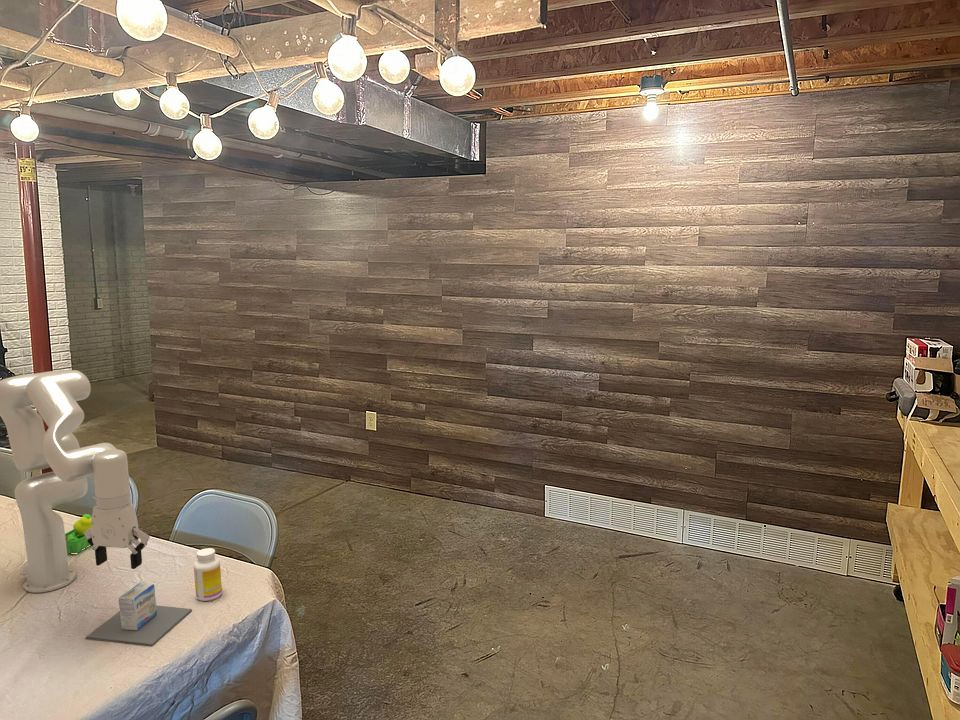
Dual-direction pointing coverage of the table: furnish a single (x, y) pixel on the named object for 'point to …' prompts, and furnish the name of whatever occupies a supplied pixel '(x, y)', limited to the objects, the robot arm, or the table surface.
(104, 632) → the mat
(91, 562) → the table surface
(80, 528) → the fruit basket
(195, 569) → the supplement bottle
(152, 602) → the medicine box
